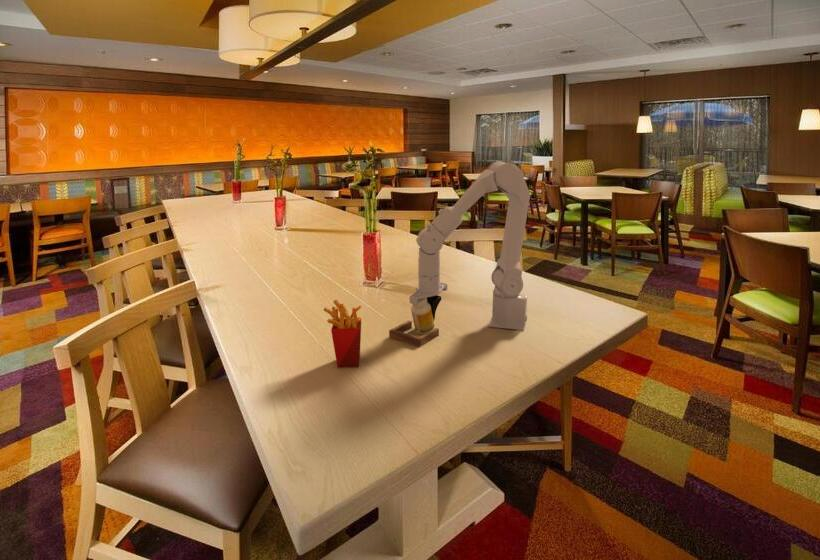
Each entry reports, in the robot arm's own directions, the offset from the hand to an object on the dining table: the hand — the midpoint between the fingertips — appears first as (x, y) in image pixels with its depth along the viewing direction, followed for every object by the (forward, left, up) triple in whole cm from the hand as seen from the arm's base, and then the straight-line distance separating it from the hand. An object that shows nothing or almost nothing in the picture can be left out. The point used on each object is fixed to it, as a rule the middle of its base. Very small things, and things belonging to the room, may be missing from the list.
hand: (429, 321), depth 132 cm
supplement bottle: (0, +2, -2) cm, 3 cm away
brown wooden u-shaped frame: (+2, +7, -2) cm, 8 cm away
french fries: (+13, +27, -2) cm, 30 cm away
